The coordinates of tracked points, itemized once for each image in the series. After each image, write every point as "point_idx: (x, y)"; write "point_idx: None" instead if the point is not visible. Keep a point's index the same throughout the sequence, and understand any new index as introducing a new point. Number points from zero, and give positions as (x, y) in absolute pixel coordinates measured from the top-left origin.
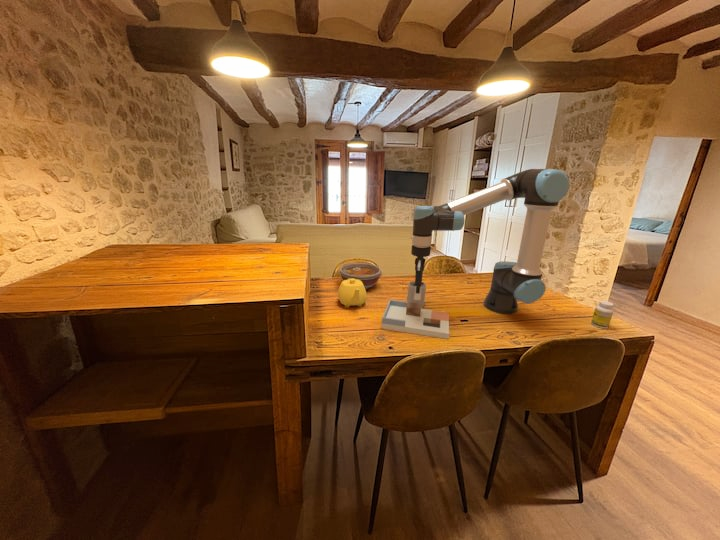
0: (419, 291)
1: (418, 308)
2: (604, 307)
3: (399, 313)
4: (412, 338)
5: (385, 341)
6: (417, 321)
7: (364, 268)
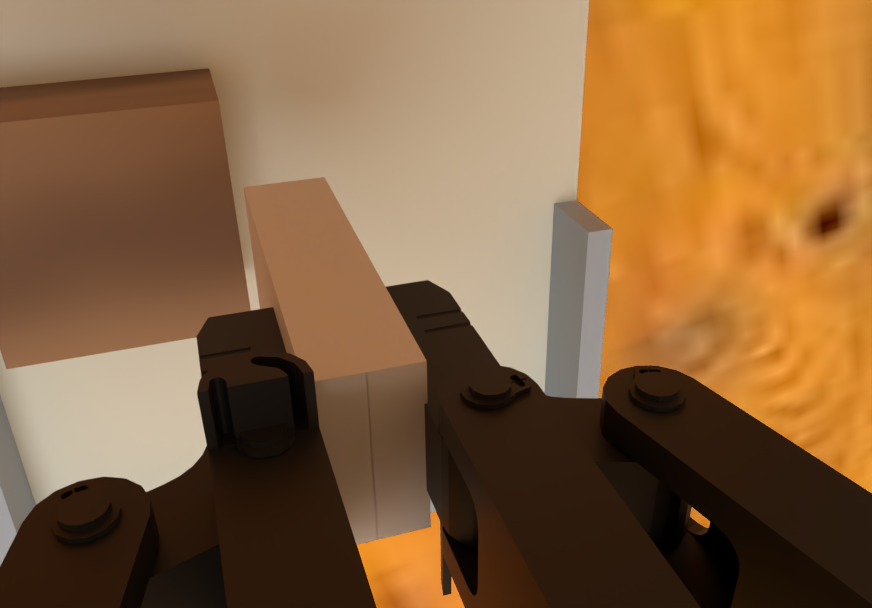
0: (418, 307)
1: (197, 141)
2: None
3: None
4: (650, 59)
5: (741, 290)
6: (386, 73)
7: None
